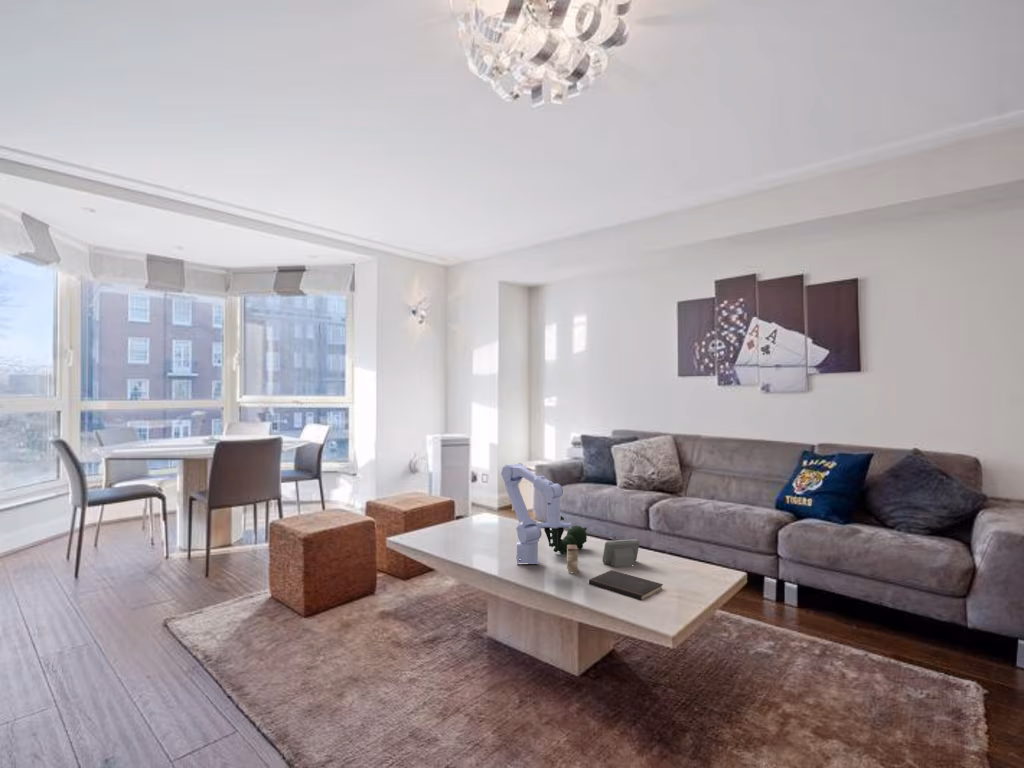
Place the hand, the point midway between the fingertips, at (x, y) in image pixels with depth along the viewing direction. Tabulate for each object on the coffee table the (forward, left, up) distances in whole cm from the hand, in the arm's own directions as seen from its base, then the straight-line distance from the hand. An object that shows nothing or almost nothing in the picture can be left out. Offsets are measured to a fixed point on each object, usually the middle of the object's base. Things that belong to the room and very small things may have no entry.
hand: (554, 545), depth 217 cm
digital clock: (+30, +11, -11) cm, 33 cm away
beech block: (+8, 0, -10) cm, 13 cm away
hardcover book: (+27, -17, -11) cm, 33 cm away
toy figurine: (+9, +27, -11) cm, 31 cm away
